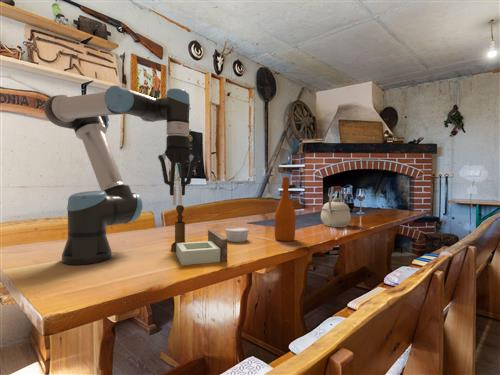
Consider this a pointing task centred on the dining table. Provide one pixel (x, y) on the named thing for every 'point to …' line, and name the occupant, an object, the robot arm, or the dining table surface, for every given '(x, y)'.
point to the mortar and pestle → (179, 228)
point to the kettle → (335, 211)
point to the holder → (197, 252)
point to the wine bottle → (285, 216)
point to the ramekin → (237, 234)
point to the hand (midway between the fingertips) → (177, 204)
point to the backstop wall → (219, 243)
